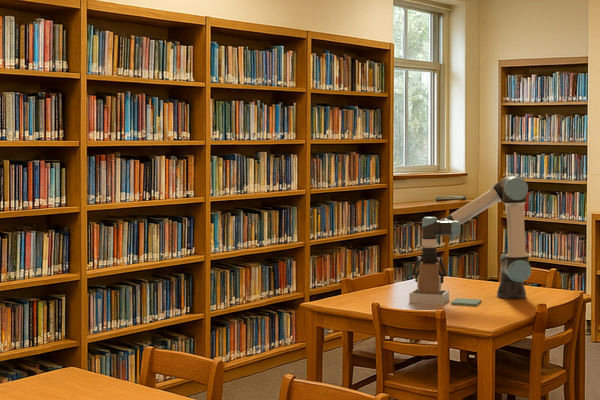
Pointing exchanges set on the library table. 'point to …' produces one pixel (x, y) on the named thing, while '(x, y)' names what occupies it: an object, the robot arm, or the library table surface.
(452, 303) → the mat
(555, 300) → the library table surface
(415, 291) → the bin
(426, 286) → the block
